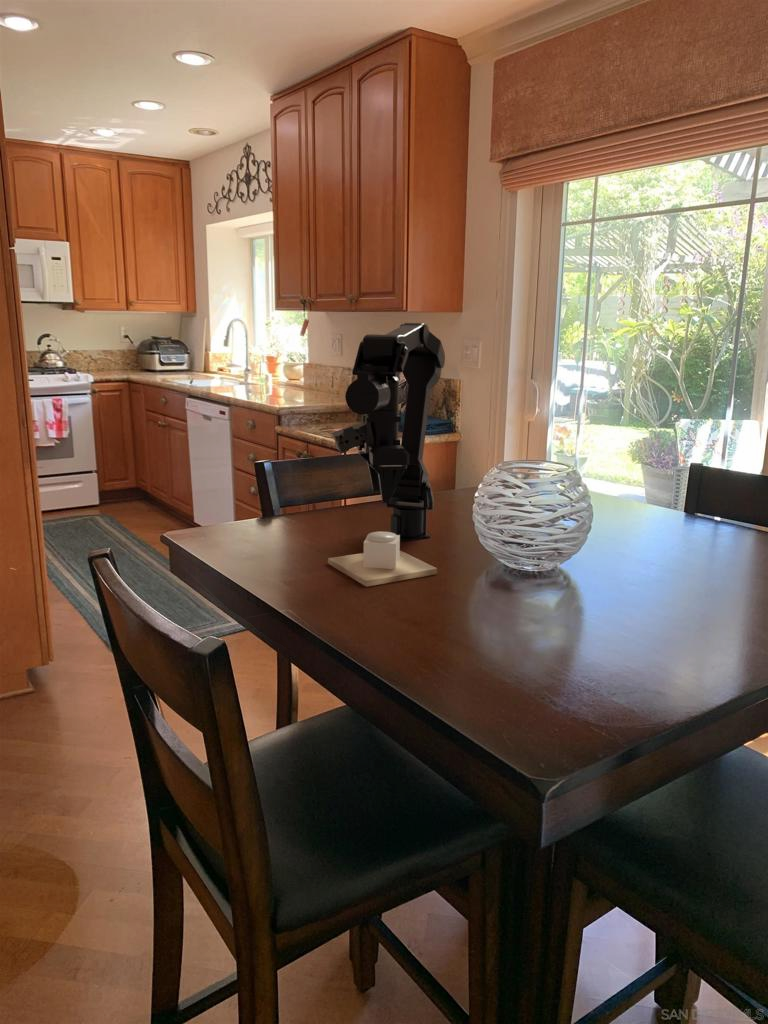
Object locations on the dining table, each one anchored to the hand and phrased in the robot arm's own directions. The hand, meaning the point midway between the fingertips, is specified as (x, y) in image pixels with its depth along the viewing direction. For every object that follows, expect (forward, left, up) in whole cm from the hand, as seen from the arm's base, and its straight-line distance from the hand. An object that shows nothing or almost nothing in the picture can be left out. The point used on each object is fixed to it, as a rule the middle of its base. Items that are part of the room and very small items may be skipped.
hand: (380, 496), depth 134 cm
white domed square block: (+2, +4, -11) cm, 12 cm away
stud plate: (+2, +4, -12) cm, 13 cm away
